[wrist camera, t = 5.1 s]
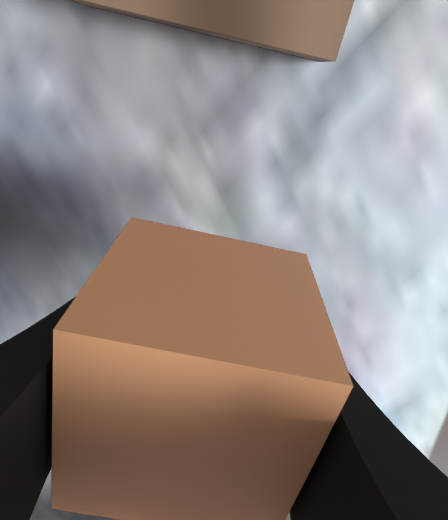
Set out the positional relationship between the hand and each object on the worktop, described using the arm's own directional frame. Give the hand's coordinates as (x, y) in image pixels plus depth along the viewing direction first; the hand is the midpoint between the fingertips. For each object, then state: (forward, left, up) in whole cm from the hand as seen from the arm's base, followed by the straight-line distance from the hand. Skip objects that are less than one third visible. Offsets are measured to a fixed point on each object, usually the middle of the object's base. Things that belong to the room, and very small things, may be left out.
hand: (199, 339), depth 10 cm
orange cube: (0, 0, -2) cm, 2 cm away
